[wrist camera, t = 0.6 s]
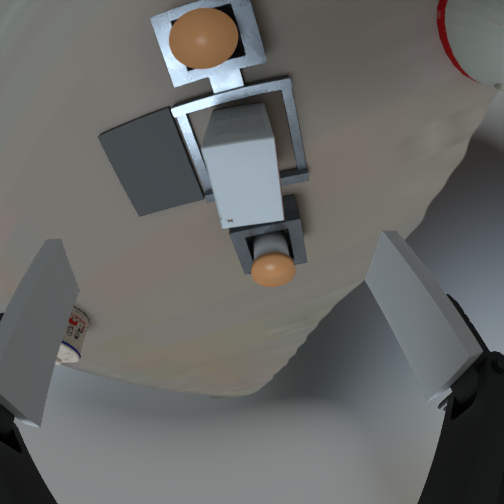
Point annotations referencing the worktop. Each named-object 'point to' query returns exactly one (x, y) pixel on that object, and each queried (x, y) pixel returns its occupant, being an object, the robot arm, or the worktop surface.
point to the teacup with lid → (73, 338)
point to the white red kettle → (474, 38)
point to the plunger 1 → (203, 38)
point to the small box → (243, 166)
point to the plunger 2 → (272, 260)
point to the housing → (227, 89)
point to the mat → (152, 162)
